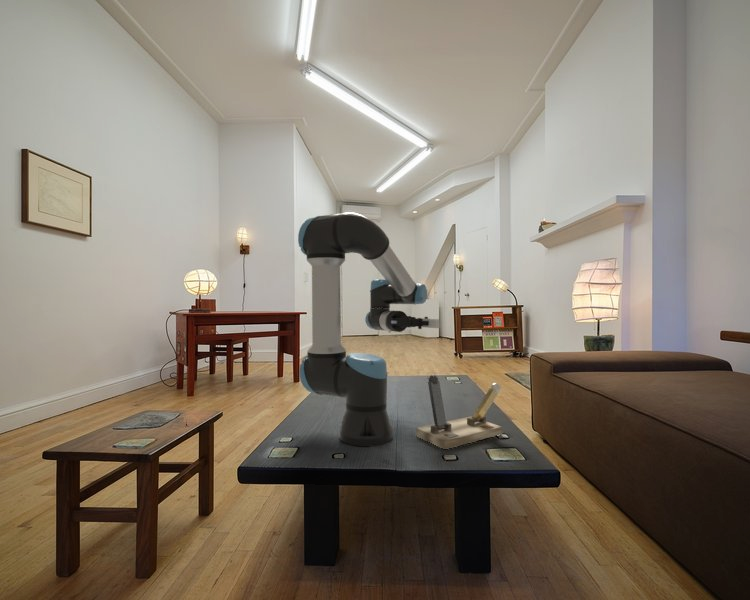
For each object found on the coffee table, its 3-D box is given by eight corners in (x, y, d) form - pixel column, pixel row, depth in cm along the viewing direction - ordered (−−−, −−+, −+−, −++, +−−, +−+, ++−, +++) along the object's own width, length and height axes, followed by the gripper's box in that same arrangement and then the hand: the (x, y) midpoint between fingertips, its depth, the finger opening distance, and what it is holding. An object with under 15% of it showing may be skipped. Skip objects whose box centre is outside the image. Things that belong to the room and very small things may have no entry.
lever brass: (468, 418, 111) (490, 381, 104) (476, 416, 113) (498, 380, 106) (474, 425, 109) (497, 388, 102) (482, 423, 111) (505, 387, 104)
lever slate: (433, 430, 104) (425, 376, 107) (442, 428, 105) (433, 375, 109) (440, 430, 101) (431, 375, 105) (449, 428, 103) (439, 374, 107)
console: (416, 436, 106) (416, 421, 106) (471, 424, 118) (471, 410, 118) (445, 450, 96) (445, 433, 96) (501, 435, 108) (501, 420, 108)
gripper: (408, 330, 138) (453, 335, 118) (378, 331, 132) (421, 336, 112) (408, 310, 139) (453, 311, 119) (379, 310, 132) (421, 311, 112)
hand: (437, 323), depth 115 cm, fingers closed
